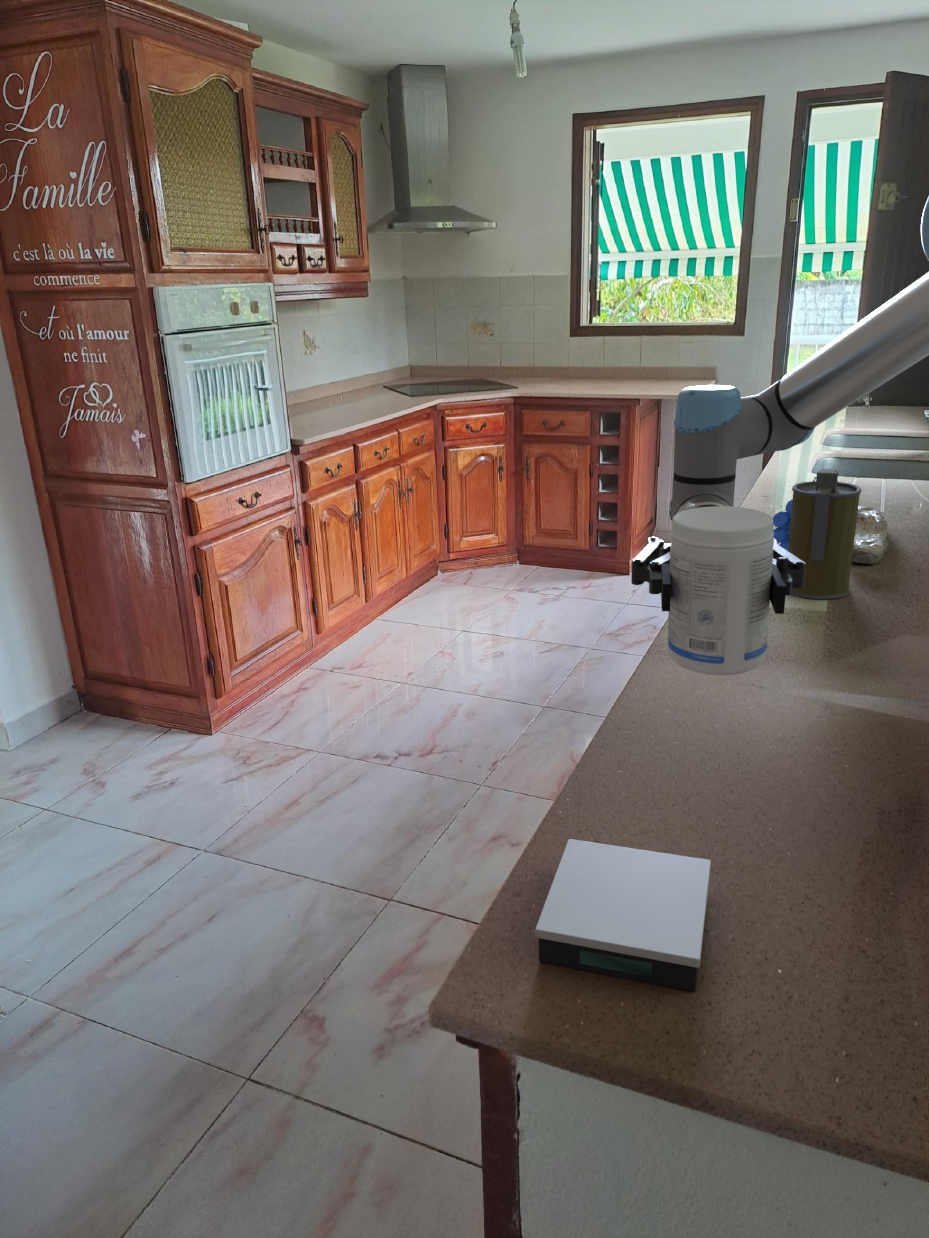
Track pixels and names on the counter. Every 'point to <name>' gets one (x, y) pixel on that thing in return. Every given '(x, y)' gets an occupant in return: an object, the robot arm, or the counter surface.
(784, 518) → the grapes
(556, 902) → the kitchen scale
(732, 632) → the supplement tub
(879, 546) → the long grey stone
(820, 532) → the canister
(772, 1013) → the counter surface
